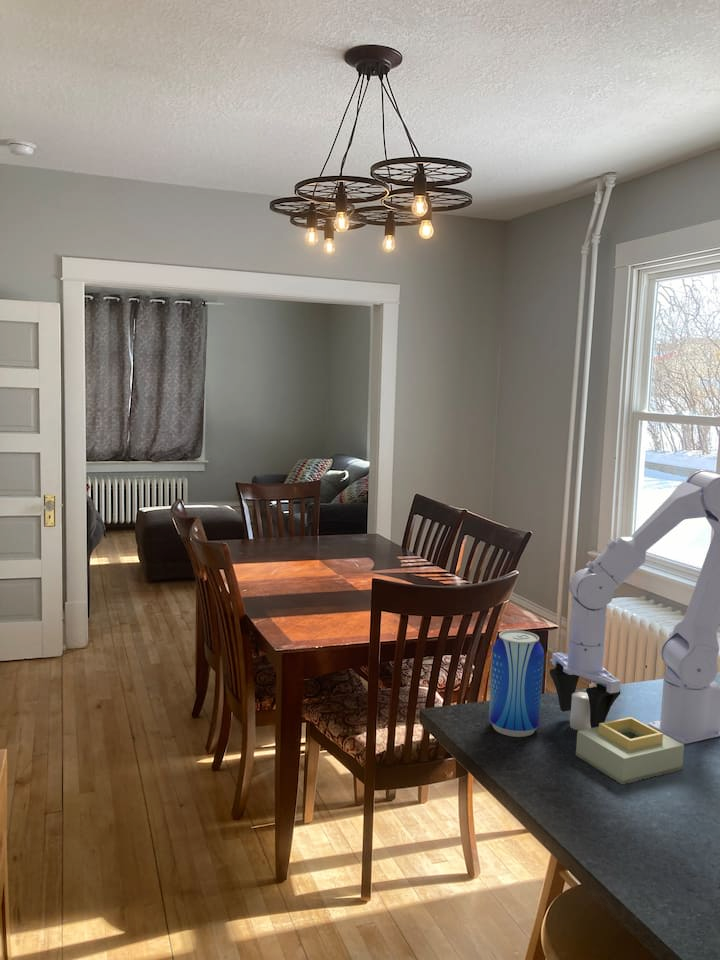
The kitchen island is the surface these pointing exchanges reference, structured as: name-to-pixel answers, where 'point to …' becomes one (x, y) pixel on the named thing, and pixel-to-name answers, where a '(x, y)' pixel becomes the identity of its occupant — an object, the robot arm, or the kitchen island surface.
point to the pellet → (580, 711)
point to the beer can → (516, 683)
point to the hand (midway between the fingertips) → (581, 718)
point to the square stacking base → (629, 750)
